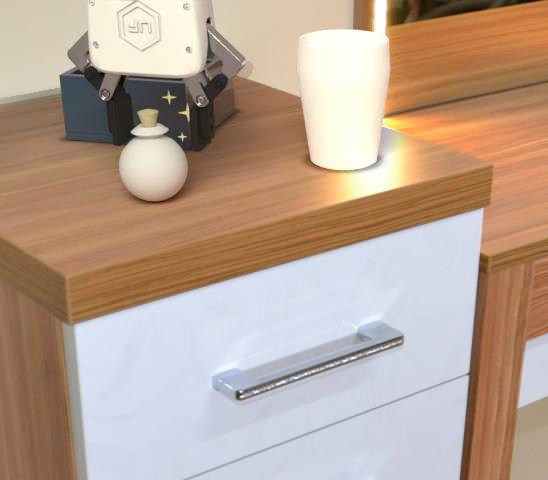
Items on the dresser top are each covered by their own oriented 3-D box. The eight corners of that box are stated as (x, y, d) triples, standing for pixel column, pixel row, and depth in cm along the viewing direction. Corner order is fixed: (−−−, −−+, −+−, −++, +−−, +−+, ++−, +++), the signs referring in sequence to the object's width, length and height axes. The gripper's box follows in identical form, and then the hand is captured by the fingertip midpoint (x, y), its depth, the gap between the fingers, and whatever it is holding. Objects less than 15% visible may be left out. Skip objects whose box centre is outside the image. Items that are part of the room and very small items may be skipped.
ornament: (131, 188, 107) (119, 81, 102) (211, 188, 106) (202, 81, 102) (115, 210, 101) (102, 98, 97) (198, 210, 101) (189, 98, 97)
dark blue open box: (189, 149, 117) (184, 83, 114) (66, 139, 120) (58, 75, 117) (235, 111, 130) (232, 50, 127) (123, 103, 133) (118, 44, 130)
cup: (357, 181, 109) (358, 54, 104) (280, 164, 113) (277, 42, 108) (405, 156, 116) (408, 36, 110) (331, 141, 120) (330, 25, 115)
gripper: (25, -65, 92) (53, 150, 100) (231, -57, 89) (242, 164, 97) (68, -77, 99) (90, 125, 107) (261, -70, 95) (269, 138, 103)
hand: (162, 142), depth 102 cm, fingers closed on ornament, 6 cm apart
